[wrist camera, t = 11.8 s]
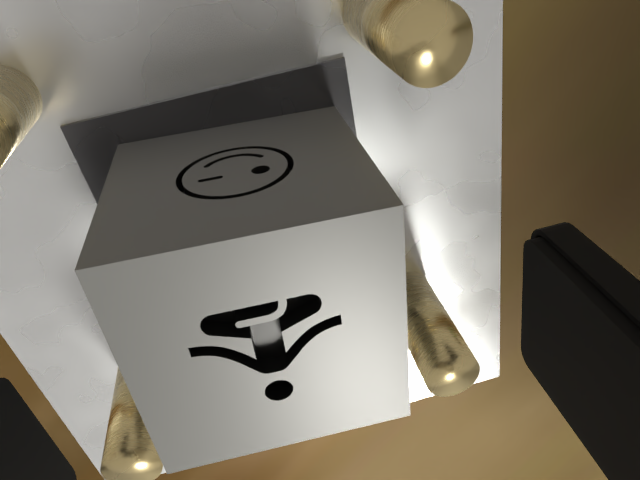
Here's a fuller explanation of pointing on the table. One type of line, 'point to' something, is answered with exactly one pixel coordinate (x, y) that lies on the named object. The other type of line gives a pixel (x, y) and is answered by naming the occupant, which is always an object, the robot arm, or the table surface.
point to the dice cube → (251, 285)
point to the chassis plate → (231, 108)
